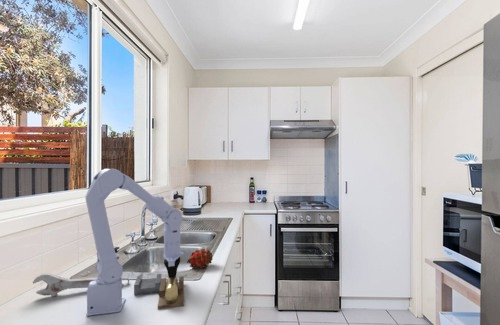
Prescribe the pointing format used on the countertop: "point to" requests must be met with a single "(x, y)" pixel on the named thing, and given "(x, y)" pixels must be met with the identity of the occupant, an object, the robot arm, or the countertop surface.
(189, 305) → the countertop surface
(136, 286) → the v block
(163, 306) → the brown wooden cradle
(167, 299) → the brass axle
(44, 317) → the countertop surface
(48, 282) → the wrench
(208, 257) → the dragon fruit
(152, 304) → the countertop surface
